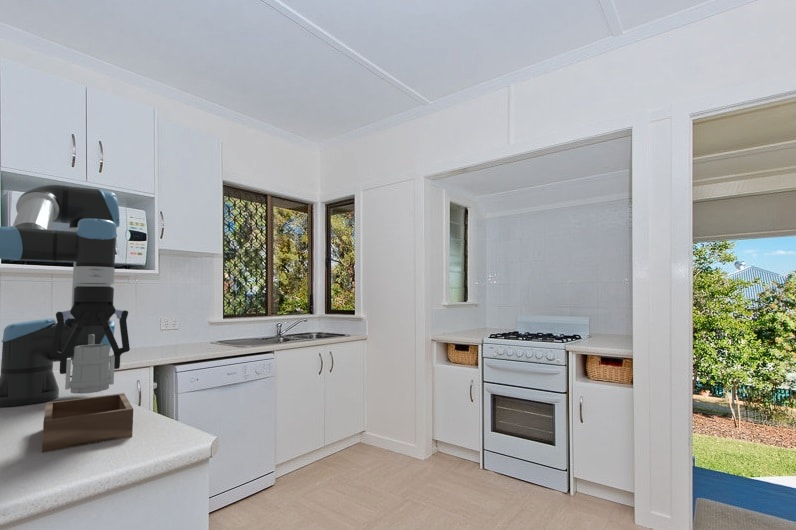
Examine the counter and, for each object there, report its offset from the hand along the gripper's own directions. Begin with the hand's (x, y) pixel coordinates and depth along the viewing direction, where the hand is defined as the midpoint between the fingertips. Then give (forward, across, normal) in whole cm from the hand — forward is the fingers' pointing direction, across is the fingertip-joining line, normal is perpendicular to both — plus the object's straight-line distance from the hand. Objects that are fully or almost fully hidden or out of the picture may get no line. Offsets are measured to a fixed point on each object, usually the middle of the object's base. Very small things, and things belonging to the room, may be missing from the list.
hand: (89, 385), depth 97 cm
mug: (+1, 0, 0) cm, 1 cm away
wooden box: (+11, 0, 0) cm, 11 cm away
